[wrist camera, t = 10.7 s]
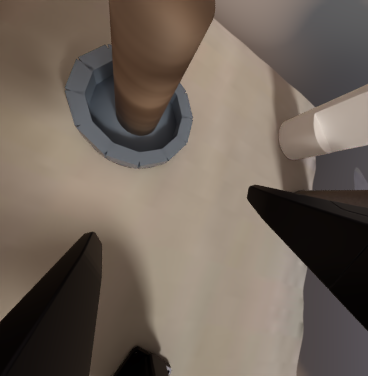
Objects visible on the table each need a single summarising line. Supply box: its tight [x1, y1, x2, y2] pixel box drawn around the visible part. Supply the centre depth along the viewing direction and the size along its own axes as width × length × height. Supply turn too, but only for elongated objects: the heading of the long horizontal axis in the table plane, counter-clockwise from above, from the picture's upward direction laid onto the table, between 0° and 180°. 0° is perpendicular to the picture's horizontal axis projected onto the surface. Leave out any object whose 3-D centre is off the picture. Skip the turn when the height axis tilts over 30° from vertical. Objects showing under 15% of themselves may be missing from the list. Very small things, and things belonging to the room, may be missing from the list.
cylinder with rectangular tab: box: [279, 84, 368, 160], centre depth 27 cm, size 9×9×12 cm
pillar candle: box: [295, 190, 368, 208], centre depth 25 cm, size 10×10×15 cm
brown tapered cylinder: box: [109, 0, 215, 136], centre depth 12 cm, size 5×5×12 cm
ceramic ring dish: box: [65, 44, 193, 169], centre depth 17 cm, size 13×13×3 cm
